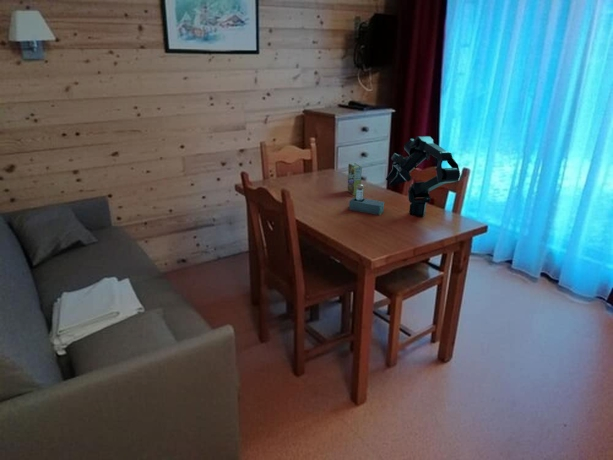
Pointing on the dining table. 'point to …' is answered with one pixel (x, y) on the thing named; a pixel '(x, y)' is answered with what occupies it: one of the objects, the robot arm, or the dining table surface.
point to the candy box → (353, 177)
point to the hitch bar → (367, 206)
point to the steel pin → (359, 192)
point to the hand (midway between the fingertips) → (387, 182)
